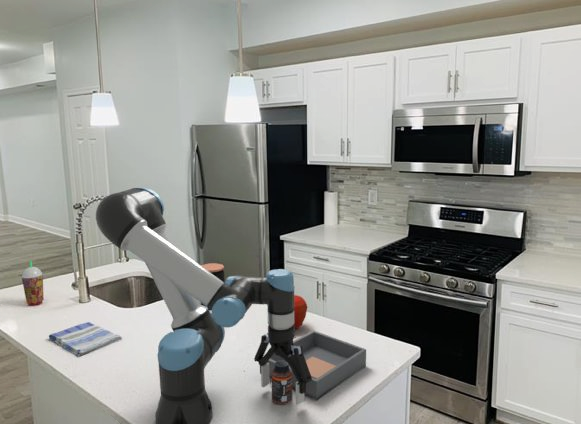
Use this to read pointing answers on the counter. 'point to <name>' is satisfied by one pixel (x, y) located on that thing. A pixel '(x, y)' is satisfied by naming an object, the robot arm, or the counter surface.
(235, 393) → the counter surface
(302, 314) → the apple
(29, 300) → the smoothie
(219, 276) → the coffee jar
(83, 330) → the dish towel
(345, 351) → the bin
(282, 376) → the supplement bottle
